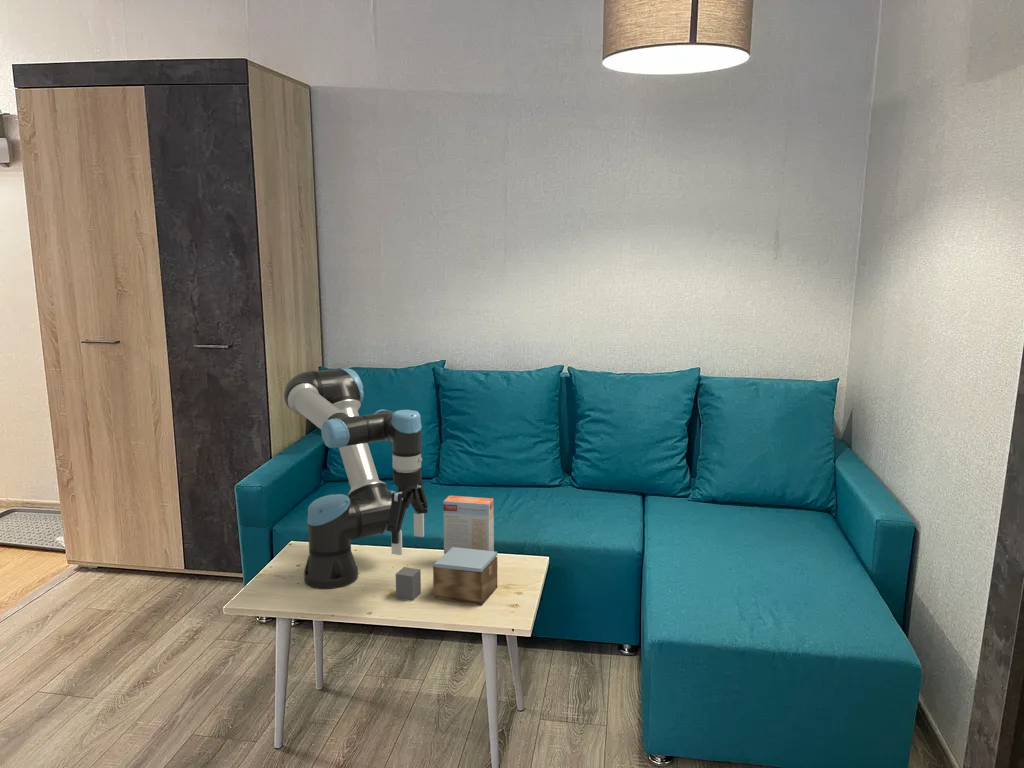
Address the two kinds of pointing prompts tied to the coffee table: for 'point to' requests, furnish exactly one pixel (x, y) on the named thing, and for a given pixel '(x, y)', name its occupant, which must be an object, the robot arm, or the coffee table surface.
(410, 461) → the robot arm
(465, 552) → the lid
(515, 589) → the coffee table surface
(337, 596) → the coffee table surface
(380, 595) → the coffee table surface
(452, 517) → the cracker box
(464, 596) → the keepsake box
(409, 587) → the block
